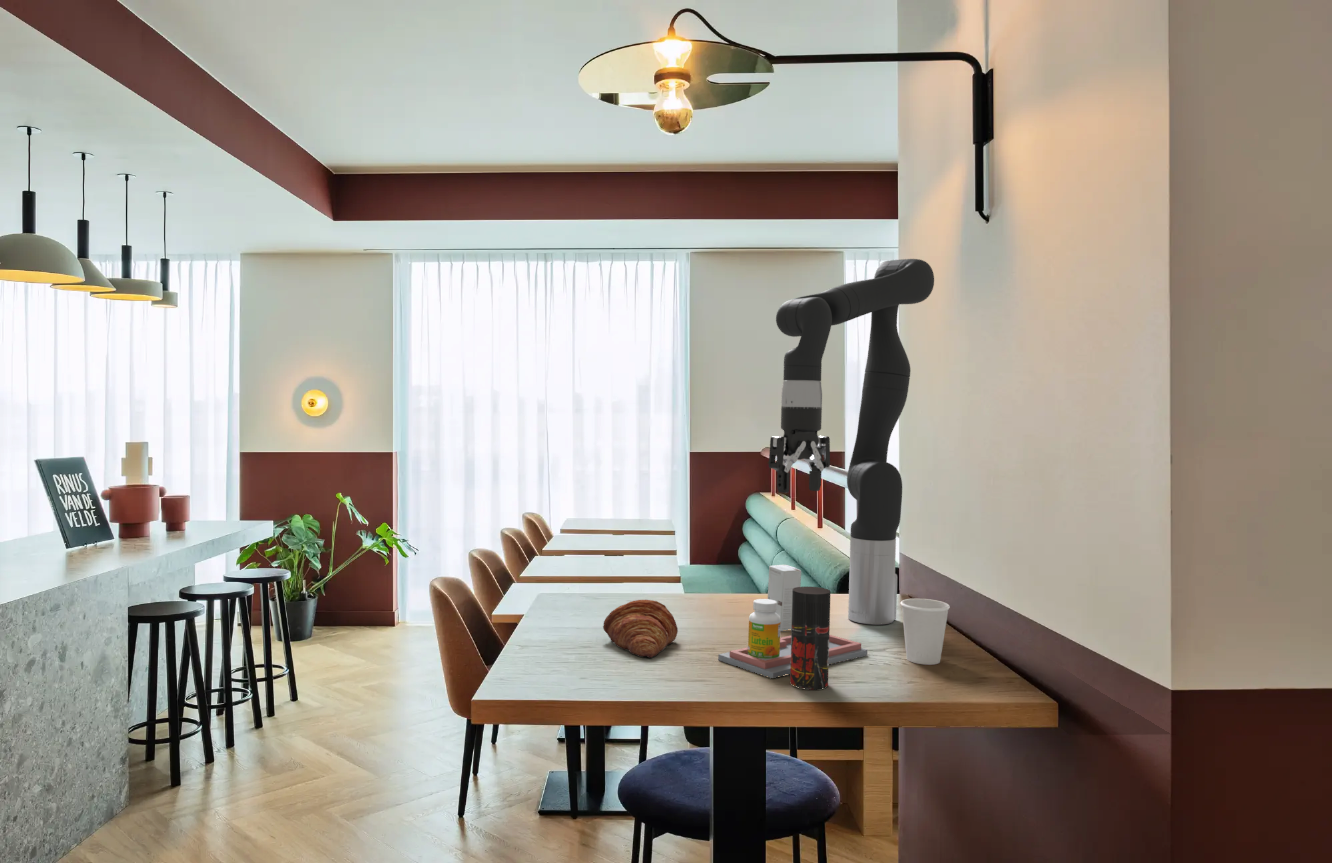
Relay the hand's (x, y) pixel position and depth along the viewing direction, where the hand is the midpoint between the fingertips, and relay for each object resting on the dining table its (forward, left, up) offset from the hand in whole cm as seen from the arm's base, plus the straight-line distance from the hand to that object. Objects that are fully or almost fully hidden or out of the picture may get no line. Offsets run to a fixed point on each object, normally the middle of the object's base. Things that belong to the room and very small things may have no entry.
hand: (799, 491), depth 167 cm
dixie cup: (-9, +22, -28) cm, 37 cm away
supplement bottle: (+16, +8, -27) cm, 33 cm away
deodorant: (+18, +20, -28) cm, 39 cm away
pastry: (+25, -15, -29) cm, 41 cm away
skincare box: (-5, -8, -28) cm, 30 cm away
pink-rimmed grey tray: (+9, +8, -28) cm, 31 cm away
